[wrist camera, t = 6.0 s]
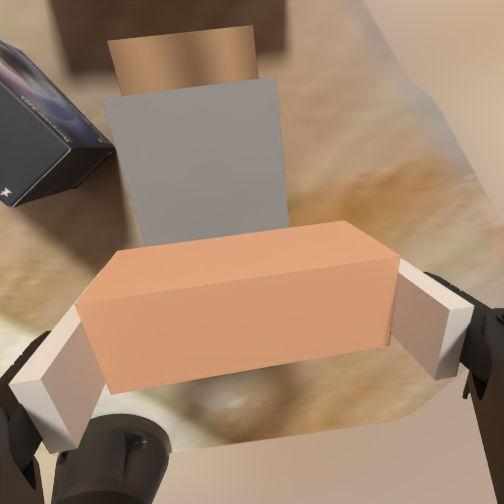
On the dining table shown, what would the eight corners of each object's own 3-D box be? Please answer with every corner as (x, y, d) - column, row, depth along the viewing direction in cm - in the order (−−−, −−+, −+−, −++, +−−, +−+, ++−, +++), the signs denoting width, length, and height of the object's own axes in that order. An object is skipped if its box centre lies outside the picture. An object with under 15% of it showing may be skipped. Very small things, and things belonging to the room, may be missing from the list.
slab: (162, 263, 28) (156, 282, 24) (118, 105, 22) (100, 98, 19) (280, 242, 29) (291, 257, 25) (265, 86, 23) (276, 76, 20)
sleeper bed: (175, 253, 33) (170, 271, 28) (124, 58, 25) (107, 40, 21) (267, 237, 34) (277, 252, 29) (244, 45, 26) (252, 24, 22)
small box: (121, 146, 28) (76, 149, 18) (76, 190, 29) (11, 214, 19) (21, 45, 24) (-102, -20, 14) (-27, 98, 25) (-175, 71, 15)
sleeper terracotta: (139, 321, 15) (110, 394, 10) (117, 250, 13) (74, 304, 9) (342, 289, 16) (389, 345, 11) (344, 220, 14) (400, 255, 10)
